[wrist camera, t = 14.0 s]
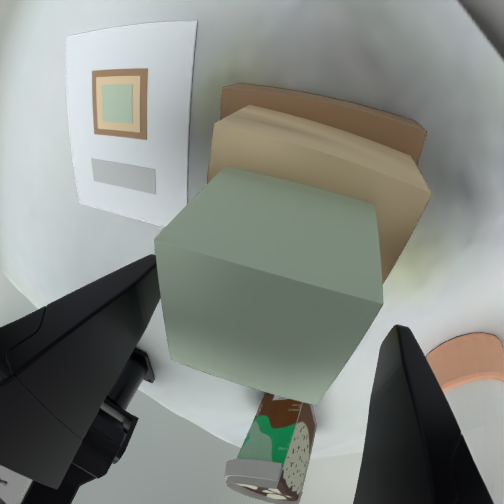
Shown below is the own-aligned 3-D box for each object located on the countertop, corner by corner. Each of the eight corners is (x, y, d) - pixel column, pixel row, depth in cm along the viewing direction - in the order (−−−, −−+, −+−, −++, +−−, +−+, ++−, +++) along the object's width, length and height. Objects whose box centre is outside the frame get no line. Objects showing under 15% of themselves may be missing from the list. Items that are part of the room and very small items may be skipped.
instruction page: (187, 232, 18) (185, 234, 18) (80, 202, 20) (78, 204, 19) (197, 20, 11) (195, 20, 10) (67, 36, 12) (64, 37, 12)
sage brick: (332, 309, 11) (316, 405, 8) (217, 276, 12) (170, 359, 9) (374, 204, 8) (383, 304, 5) (225, 166, 9) (154, 239, 6)
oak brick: (354, 278, 14) (350, 333, 12) (227, 236, 15) (197, 283, 12) (410, 155, 10) (431, 193, 7) (249, 104, 11) (214, 123, 8)
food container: (236, 369, 26) (195, 468, 18) (304, 375, 24) (274, 488, 16) (267, 424, 32) (242, 497, 25) (318, 429, 30) (298, 508, 22)
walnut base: (368, 258, 16) (369, 288, 14) (231, 223, 18) (215, 248, 16) (413, 119, 11) (426, 131, 9) (242, 82, 13) (222, 87, 11)
